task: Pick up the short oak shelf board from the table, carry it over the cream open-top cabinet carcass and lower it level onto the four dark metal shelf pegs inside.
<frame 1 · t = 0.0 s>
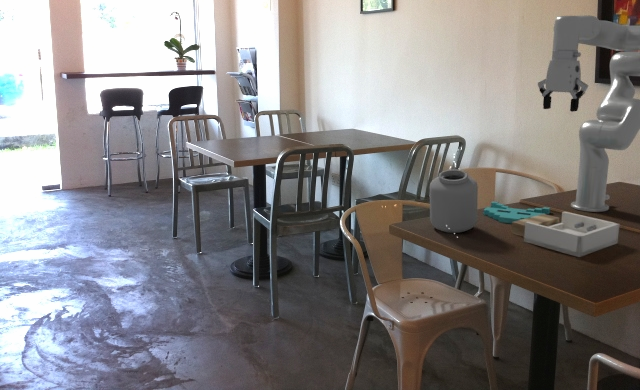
hand: (560, 110, 205), 37 cm above the table, tool pointing down, fingers open, 9 cm apart
shelf board: (535, 232, 200), on the table
alien figure: (514, 217, 218), on the table
carcass: (570, 242, 188), on the table
jar: (451, 230, 202), on the table
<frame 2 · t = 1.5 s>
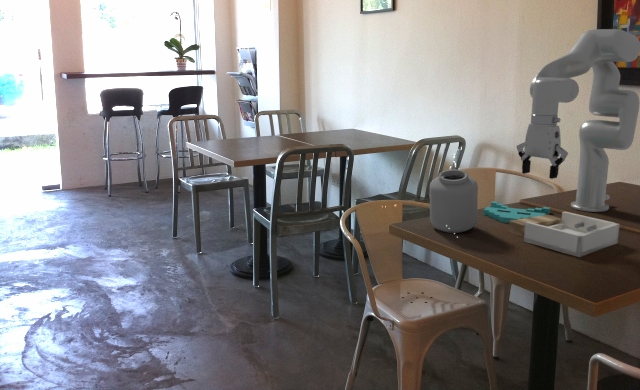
hand: (539, 175, 196), 18 cm above the table, tool pointing down, fingers open, 9 cm apart
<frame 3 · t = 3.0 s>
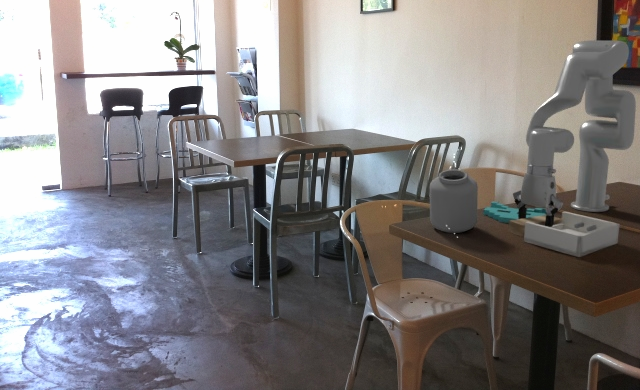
hand: (535, 223, 199), 2 cm above the table, tool pointing down, fingers open, 9 cm apart
nothing on the table moved.
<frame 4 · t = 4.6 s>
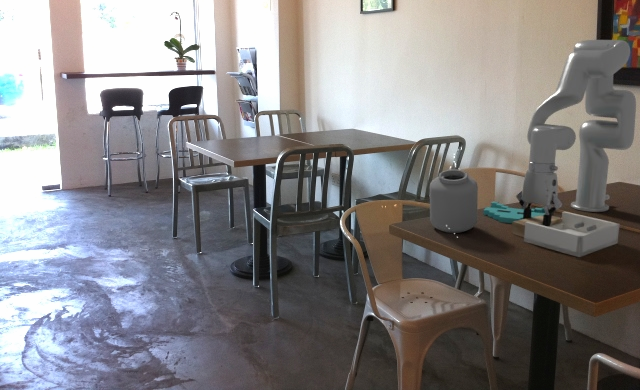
hand: (536, 223, 199), 3 cm above the table, tool pointing down, fingers closed on shelf board, 6 cm apart
shelf board: (536, 232, 199), on the table, touching gripper
everything else where it was.
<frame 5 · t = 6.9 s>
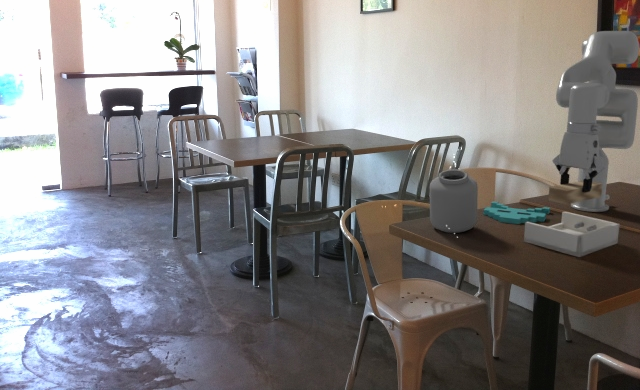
hand: (575, 189, 184), 16 cm above the table, tool pointing down, fingers closed on shelf board, 6 cm apart
shelf board: (574, 198, 185), point 13 cm above the table, touching gripper
everything else where it was.
when the fingers open (7 cm above the table, at t = 8.8 s): shelf board stays where it is, resting on carcass.
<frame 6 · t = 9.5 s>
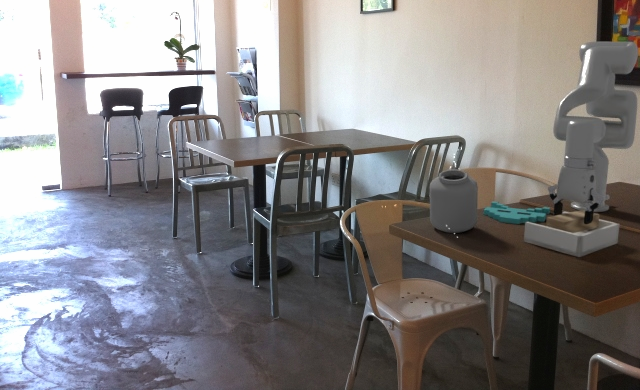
hand: (572, 219, 187), 7 cm above the table, tool pointing down, fingers open, 9 cm apart
shelf board: (572, 228, 188), point 4 cm above the table, touching carcass
everything else where it was.
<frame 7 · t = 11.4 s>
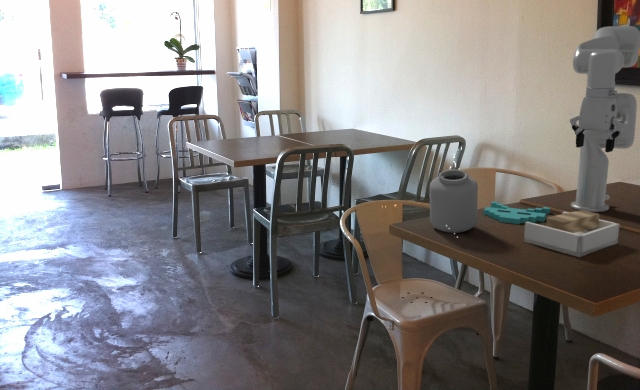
hand: (594, 149, 194), 26 cm above the table, tool pointing down, fingers open, 9 cm apart
nothing on the table moved.
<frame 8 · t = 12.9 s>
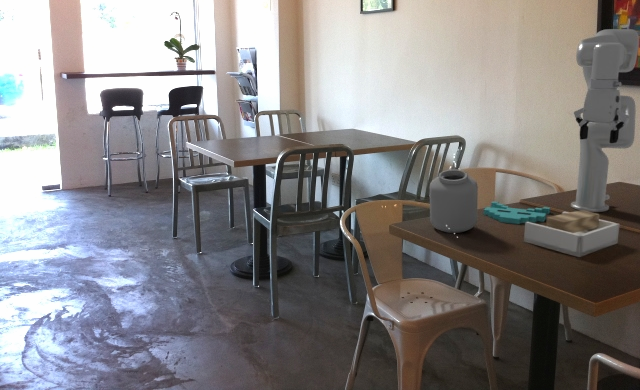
hand: (598, 140, 196), 28 cm above the table, tool pointing down, fingers open, 9 cm apart
nothing on the table moved.
at the end: shelf board 0.2 cm off-centre on the carcass, point 4.2 cm above the carcass's base; shelf board tilted 0°; the gripper is holding nothing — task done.
